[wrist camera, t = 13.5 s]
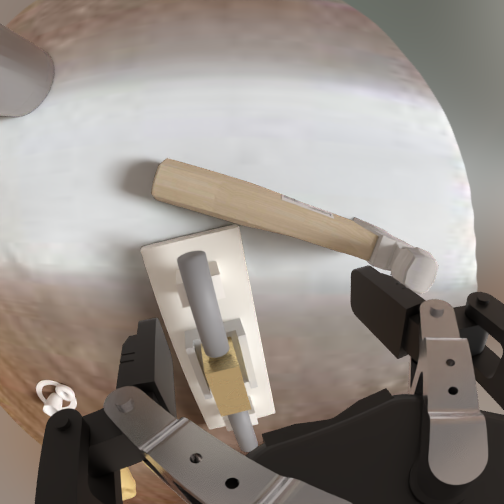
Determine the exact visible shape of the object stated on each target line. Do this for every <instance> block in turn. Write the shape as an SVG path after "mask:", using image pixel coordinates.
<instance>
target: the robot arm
mask: <svg viewBox="0 0 504 504" xmlns="http://www.w3.org/2000/svg"><path fill="white" fill-rule="evenodd" d="M53 78H54V64H53V61H52V59H51V56H50V55H49V54H48V53H47V52H46V51H44V50H42V49H41V48H39V47H38V46H36V45H35V44H33V43H32V42H30V41H28V40H27V39H25V38H24V37H22V36H20V35H19V34H17V33H15V32H14V31H12V30H10V29H9V28H7V27H5V26H4V25H2V24H0V116H12V117H20V116H24V115H26V114H29V113H30V112H32V111H33V110H35V109H36V108H37V107H38V106H39V105H40V104H41V103H42V102H43V100H44V99H45V98H46V96H47V94H48V92H49V91H50V88H51V85H52V83H53ZM351 307H352V310H353V312H354V314H355V315H356V316H357V318H358V319H359V320H360V321H361V322H362V323H363V324H364V325H365V326H366V327H367V328H368V329H369V330H370V331H371V332H372V333H373V334H374V335H375V336H376V337H377V338H378V339H379V340H380V341H381V342H382V343H383V344H384V345H385V346H386V347H387V348H388V349H389V350H390V351H391V353H392V354H393V355H394V356H395V357H396V358H397V359H399V358H402V357H404V356H406V355H408V354H409V355H410V360H409V377H408V394H401V395H393V396H392V395H391V394H390V393H389V391H388V390H387V389H383V390H381V391H379V392H377V393H375V394H372V395H370V396H368V397H366V398H363V399H361V400H359V401H357V402H356V403H355V404H353V405H352V406H350V407H349V408H347V409H346V410H345V411H343V412H342V413H340V414H339V415H337V416H336V417H334V418H332V419H329V420H322V421H315V422H308V423H300V424H294V425H291V426H287V427H284V428H281V429H278V430H274V431H271V432H267V433H264V434H262V437H263V442H264V443H263V444H262V445H260V446H258V447H256V448H255V449H253V450H252V451H250V452H249V453H248V454H247V455H246V456H244V455H242V454H241V453H239V452H237V451H236V450H234V449H233V448H231V447H229V446H228V445H226V444H225V443H223V442H221V441H220V440H218V439H217V438H215V437H214V436H212V435H211V434H209V433H208V432H206V431H205V430H203V429H202V428H200V427H199V426H197V425H196V424H195V423H193V422H192V421H190V420H189V419H187V418H185V417H182V418H180V419H179V420H178V419H177V415H176V403H175V391H174V377H173V362H172V357H171V353H170V350H169V347H168V344H167V341H166V339H165V336H164V333H163V330H162V327H161V324H160V322H159V319H158V318H152V319H148V320H143V321H139V323H138V330H137V335H133V336H129V337H128V339H127V340H126V341H125V343H124V344H123V347H122V353H121V355H122V356H121V359H120V365H119V372H118V379H117V386H116V390H114V391H113V392H111V393H110V394H109V395H108V396H107V398H106V399H105V402H104V408H102V409H101V410H98V411H96V412H93V413H91V414H88V415H85V416H83V417H82V416H81V414H80V413H79V412H78V411H77V410H75V409H71V408H66V409H62V410H59V411H57V412H56V413H54V414H53V415H52V416H51V417H50V418H49V420H48V422H47V424H46V429H45V434H44V439H43V444H42V451H41V457H40V463H39V470H38V478H37V487H36V497H35V504H123V500H122V488H121V471H120V470H121V469H123V468H126V467H129V466H131V465H134V464H136V463H139V462H141V461H142V462H143V463H144V464H145V465H146V466H147V467H148V468H149V469H150V470H151V471H152V472H154V473H155V474H156V475H157V476H158V477H159V478H160V479H161V480H162V481H163V482H164V483H166V484H167V485H168V486H169V487H170V488H171V489H172V490H174V491H175V492H176V493H177V494H178V495H179V496H180V497H181V498H182V499H183V500H184V501H186V502H187V503H188V504H504V415H501V414H496V413H491V412H486V411H482V410H479V402H478V394H477V387H476V381H477V382H478V383H479V384H480V385H481V386H482V387H483V388H484V389H485V390H486V391H487V393H488V394H489V395H490V396H491V397H492V398H493V399H494V400H495V401H496V402H497V403H498V404H499V405H500V406H501V407H502V409H503V410H504V304H503V303H501V302H500V301H499V300H497V299H496V298H494V297H493V296H491V295H489V294H487V293H483V292H474V293H471V294H470V295H469V296H468V298H467V302H466V306H460V307H455V308H453V307H452V306H451V305H450V304H449V303H447V302H445V301H443V300H438V299H431V300H427V301H426V300H424V299H423V298H421V297H420V296H419V295H417V294H416V293H415V292H413V291H412V290H410V289H409V288H406V286H405V285H403V284H402V283H401V284H400V282H399V281H398V280H396V279H395V278H393V277H392V276H389V275H386V274H383V273H380V272H378V271H377V270H376V269H374V268H373V267H371V266H365V267H361V268H358V269H354V270H353V271H352V273H351ZM489 334H490V335H491V336H492V337H493V338H495V339H496V340H497V341H498V342H499V343H500V344H501V345H502V348H503V355H502V358H501V359H500V358H499V357H498V356H497V355H496V354H495V353H494V352H493V351H492V350H490V349H489V348H488V347H487V346H486V345H485V344H486V341H487V338H488V335H489Z"/></svg>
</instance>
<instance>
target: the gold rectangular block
mask: <svg viewBox="0 0 504 504" xmlns="http://www.w3.org/2000/svg"><path fill="white" fill-rule="evenodd" d="M227 340H228V343H229V351H228V352H227V353H226V354H225V355H223V356H221V357H216V358H212V357H208V356H207V355H206V354H205V352H204V349H203V346H202V344H201V351H202V359H203V366H204V372H205V376H206V379H207V382H208V384H209V387H210V389H211V392H212V395H213V397H214V400H215V402H216V405H217V407H218V410H219V412H220V414H221V417H222V416H227V415H231V414H235V413H239V412H243V411H247V410H251V405H250V402H249V398H248V395H247V391H246V388H245V384H244V381H243V377H242V374H241V370H240V366H239V363H238V360H237V356H236V353H235V349H234V346H233V342H232V339H231V337H227Z"/></svg>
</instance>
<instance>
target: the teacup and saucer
mask: <svg viewBox="0 0 504 504" xmlns="http://www.w3.org/2000/svg"><path fill="white" fill-rule="evenodd" d="M45 385H55V386H56V388H55V391H56V393H51V394H50V395H49V397H48V398H47V400H46V399H45V398H44V396H43V394H42V388H43V386H45ZM36 391H37V394H38V396H39V398H40V399H41V400H42V401H43V402H44V403H45V404H44V407H43V412H44V413H47V414H48V415H49V416H52V415H53V414H54V413H56V412H57V411H59V410H62V409H66V408H71V409H75V408H76V405H77V401H76V398H75V394H74V392H73V390H72V389H71V388H70V387H68V386H66V385H63V384H60V383H58V382H55V381H52V380H42V381H40V382H39V383H38V384H37V386H36ZM64 392H65V393H64ZM66 393H67V394H66ZM62 399H64V400H67V401H71V403H70V405H69V406H68V407H62Z"/></svg>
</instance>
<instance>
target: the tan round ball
mask: <svg viewBox="0 0 504 504" xmlns="http://www.w3.org/2000/svg"><path fill="white" fill-rule="evenodd" d="M120 471H121V488H122V500H125V499H129V498H132V497H134V496H135V495H136V489H135V487H136V484H135V480H134V479H133V477H132V475H131V473H130V471H129V469H128V467H126V468H123V469H121V470H120Z"/></svg>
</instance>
